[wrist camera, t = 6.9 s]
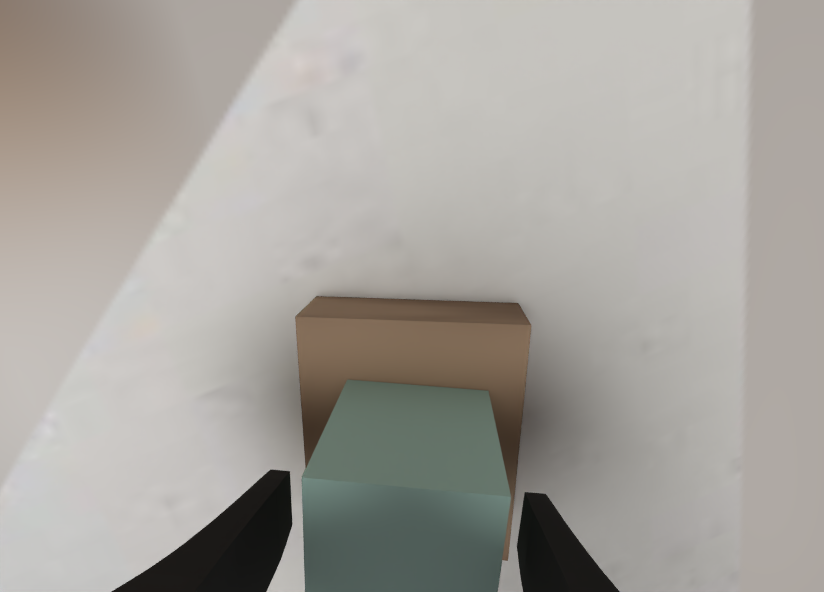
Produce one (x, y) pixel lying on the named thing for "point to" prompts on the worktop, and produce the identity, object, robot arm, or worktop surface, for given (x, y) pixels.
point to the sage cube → (406, 492)
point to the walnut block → (415, 358)
